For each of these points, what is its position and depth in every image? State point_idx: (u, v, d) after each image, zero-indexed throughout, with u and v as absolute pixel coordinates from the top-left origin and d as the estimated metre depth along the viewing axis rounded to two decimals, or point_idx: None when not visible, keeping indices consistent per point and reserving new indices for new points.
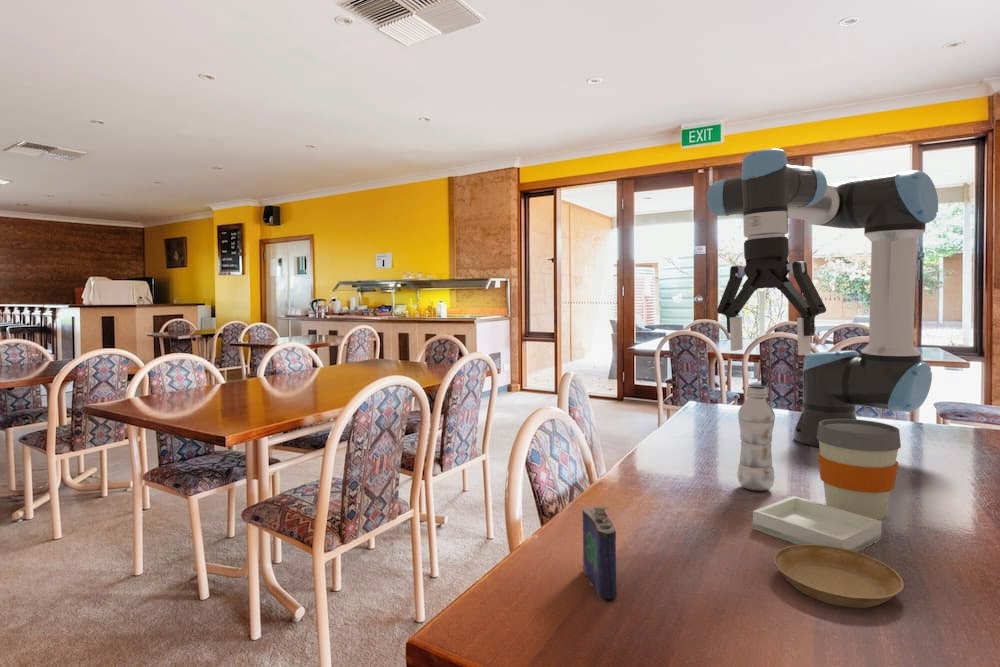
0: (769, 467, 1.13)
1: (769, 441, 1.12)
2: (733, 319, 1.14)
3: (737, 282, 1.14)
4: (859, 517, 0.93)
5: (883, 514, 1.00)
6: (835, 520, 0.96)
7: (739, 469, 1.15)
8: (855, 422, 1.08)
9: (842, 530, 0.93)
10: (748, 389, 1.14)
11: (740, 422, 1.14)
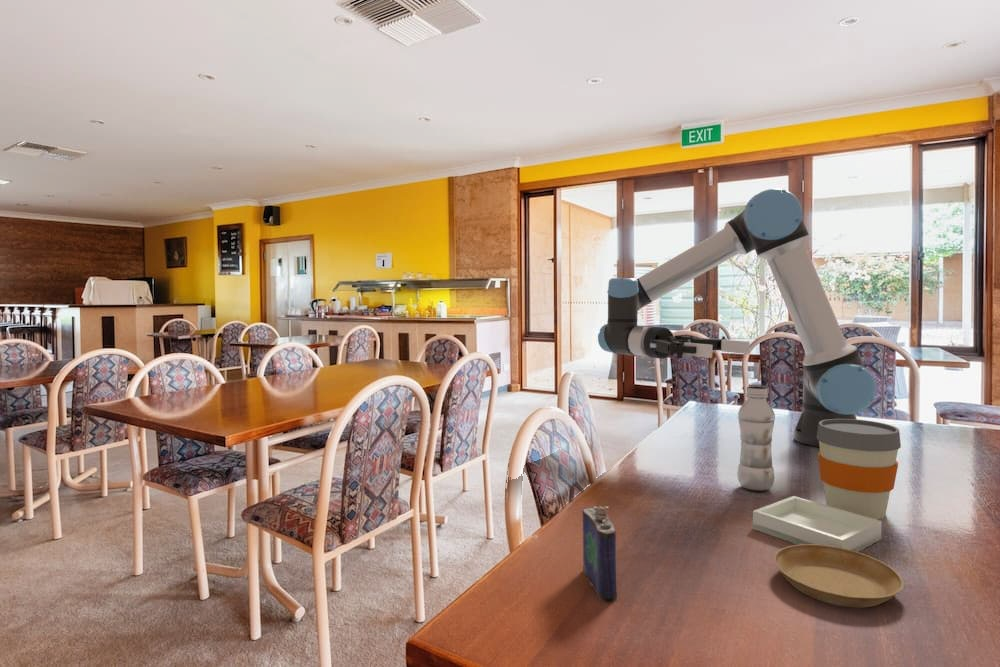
0: (769, 467, 1.13)
1: (769, 441, 1.12)
2: (722, 350, 1.35)
3: None
4: (859, 517, 0.93)
5: (883, 514, 1.00)
6: (835, 520, 0.96)
7: (739, 469, 1.15)
8: (855, 422, 1.08)
9: (842, 530, 0.93)
10: (748, 389, 1.14)
11: (740, 422, 1.14)
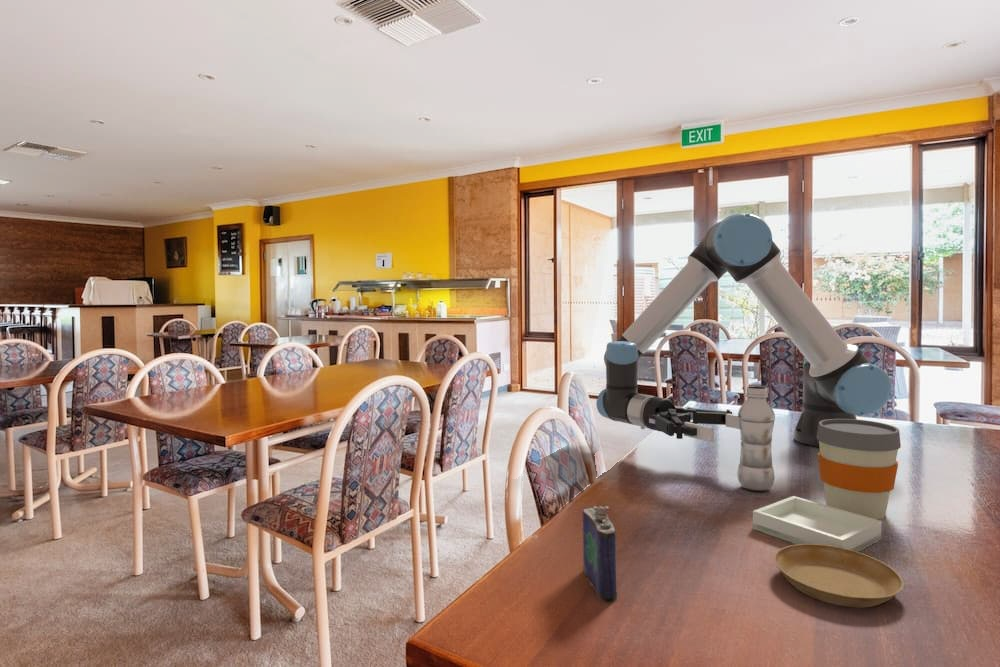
0: (769, 467, 1.13)
1: (769, 441, 1.12)
2: (727, 425, 1.27)
3: None
4: (859, 517, 0.93)
5: (883, 514, 1.00)
6: (835, 520, 0.96)
7: (739, 469, 1.15)
8: (855, 422, 1.08)
9: (842, 530, 0.93)
10: (748, 389, 1.14)
11: (740, 422, 1.14)
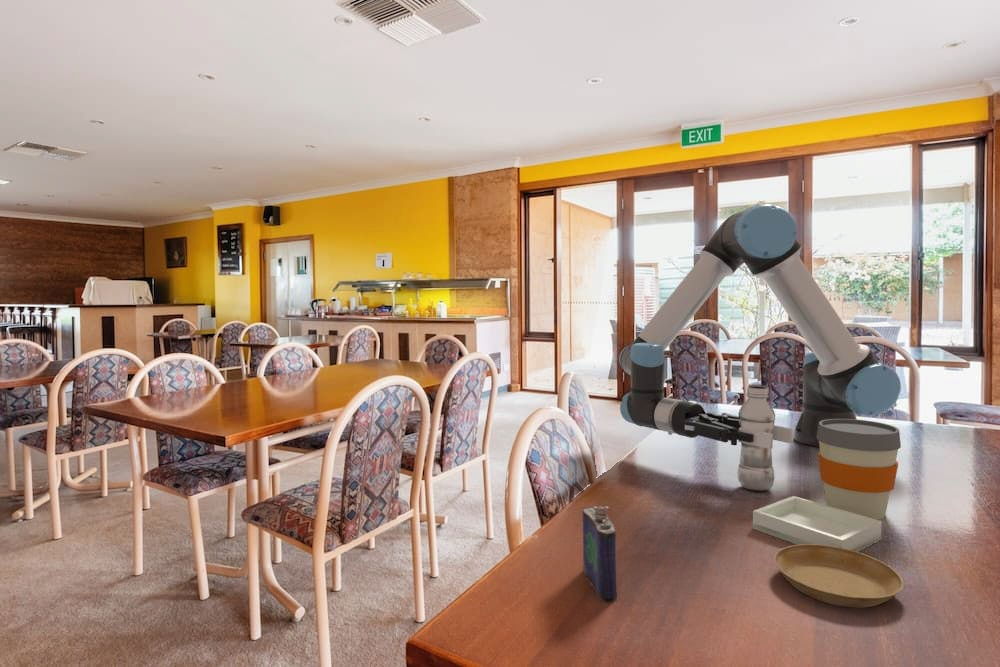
0: (769, 467, 1.13)
1: None
2: None
3: None
4: (859, 517, 0.93)
5: (883, 514, 1.00)
6: (835, 520, 0.96)
7: (739, 469, 1.15)
8: (855, 422, 1.08)
9: (842, 530, 0.93)
10: (749, 389, 1.14)
11: (740, 422, 1.14)
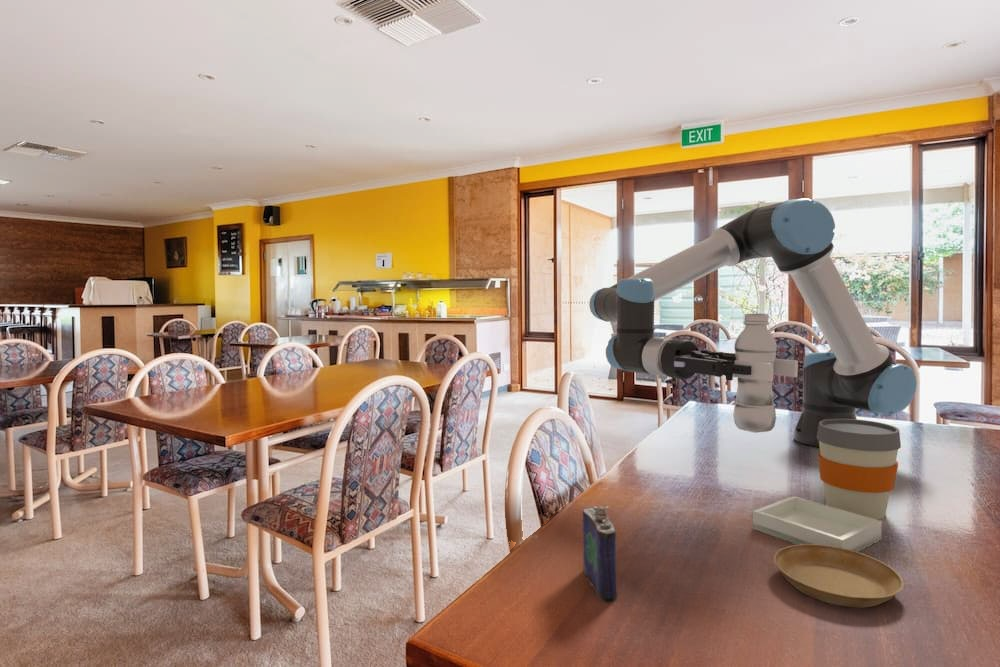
0: (770, 405, 0.98)
1: None
2: None
3: None
4: (859, 517, 0.93)
5: (883, 514, 1.00)
6: (835, 520, 0.96)
7: (735, 408, 1.00)
8: (855, 422, 1.08)
9: (842, 530, 0.93)
10: (746, 315, 0.99)
11: (736, 354, 0.99)
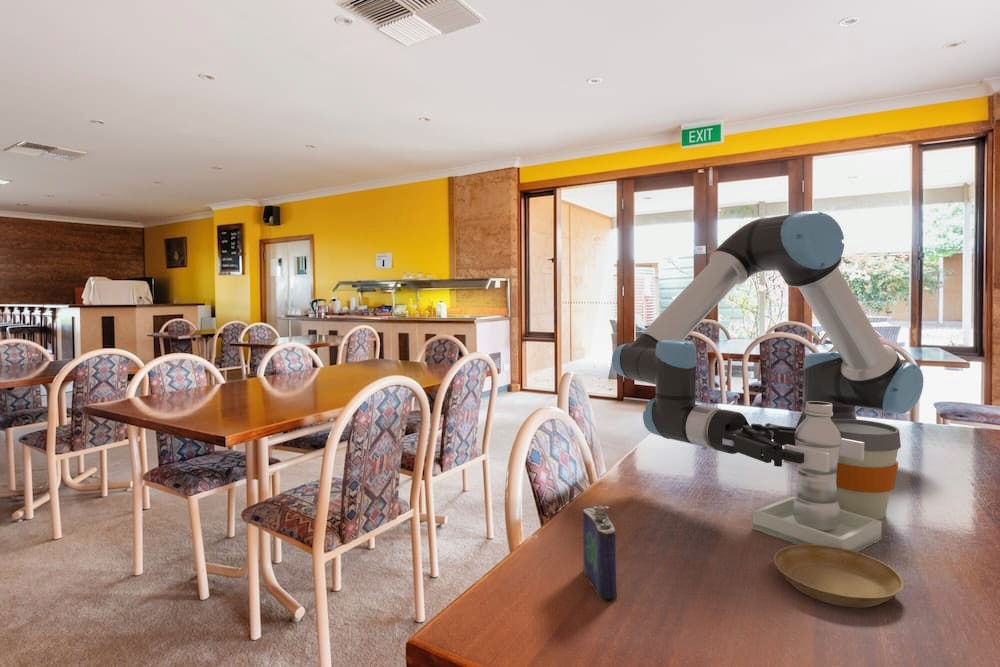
0: (835, 502, 0.91)
1: (835, 470, 0.91)
2: None
3: None
4: (859, 517, 0.93)
5: (883, 514, 1.00)
6: None
7: (796, 503, 0.94)
8: (855, 422, 1.08)
9: (842, 530, 0.93)
10: (808, 405, 0.92)
11: (798, 446, 0.93)
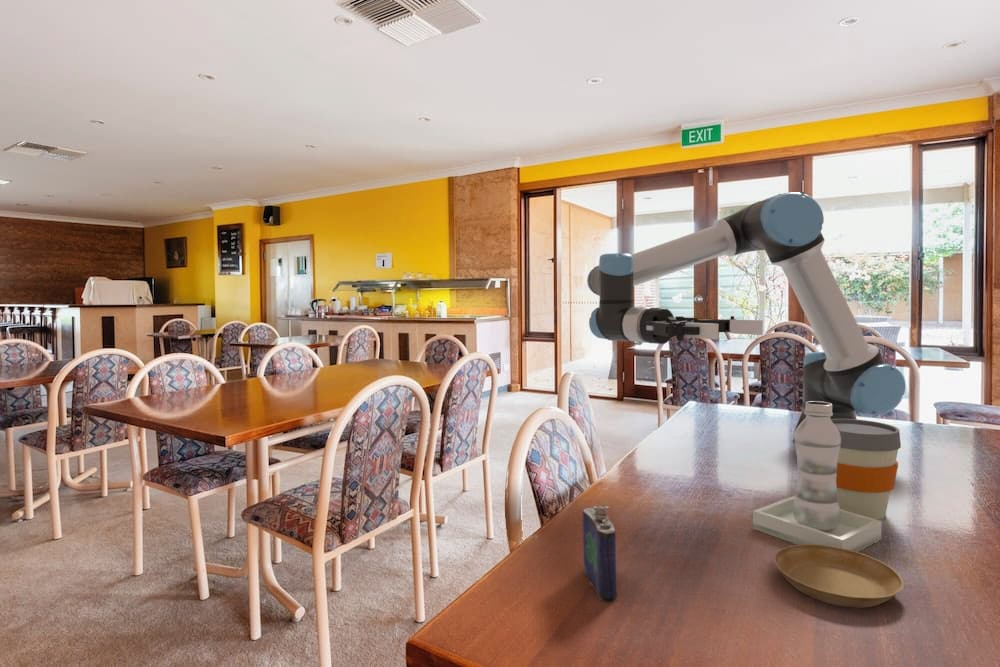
0: (834, 502, 0.91)
1: (835, 470, 0.91)
2: (731, 332, 1.16)
3: None
4: (859, 517, 0.93)
5: (883, 514, 1.00)
6: None
7: (796, 503, 0.94)
8: (855, 422, 1.08)
9: (842, 530, 0.93)
10: (808, 405, 0.92)
11: (798, 446, 0.93)
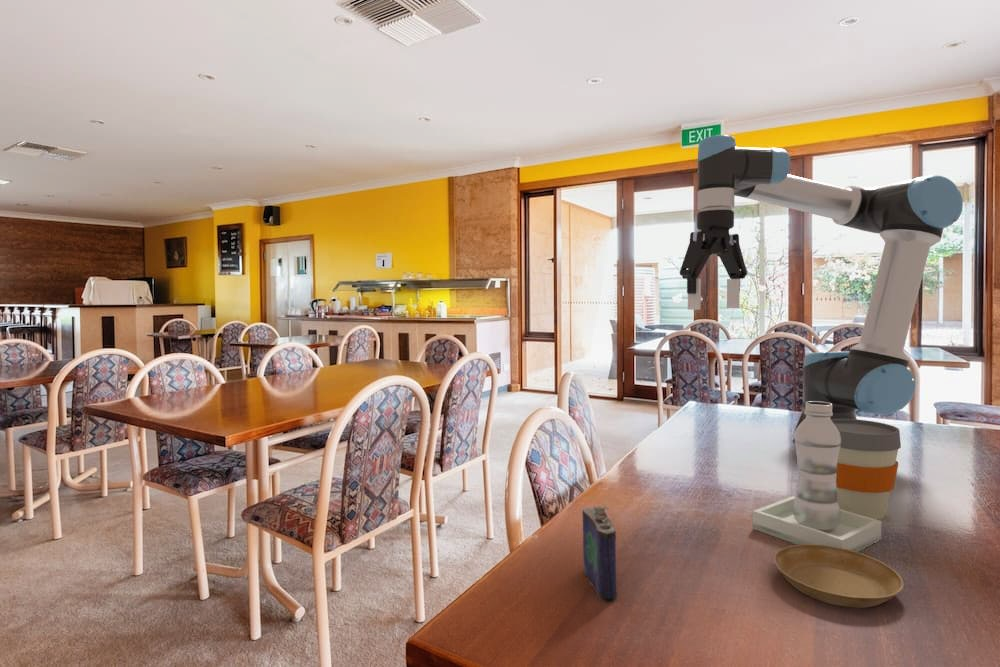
0: (834, 502, 0.91)
1: (835, 470, 0.91)
2: (727, 280, 1.33)
3: (732, 248, 1.32)
4: (859, 517, 0.93)
5: (883, 514, 1.00)
6: None
7: (796, 503, 0.94)
8: (855, 422, 1.08)
9: (842, 530, 0.93)
10: (808, 405, 0.92)
11: (798, 446, 0.93)
